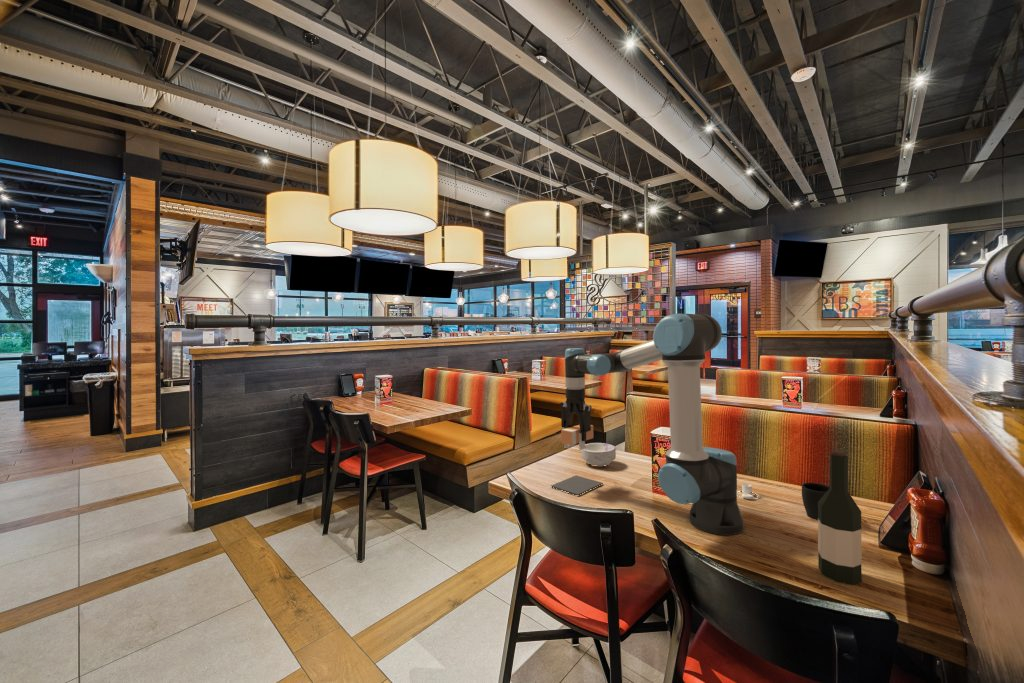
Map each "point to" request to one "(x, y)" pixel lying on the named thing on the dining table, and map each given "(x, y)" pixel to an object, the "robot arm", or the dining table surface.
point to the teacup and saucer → (747, 492)
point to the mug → (813, 497)
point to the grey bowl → (599, 453)
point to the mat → (576, 485)
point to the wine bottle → (839, 527)
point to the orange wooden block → (574, 435)
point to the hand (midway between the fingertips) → (576, 447)
